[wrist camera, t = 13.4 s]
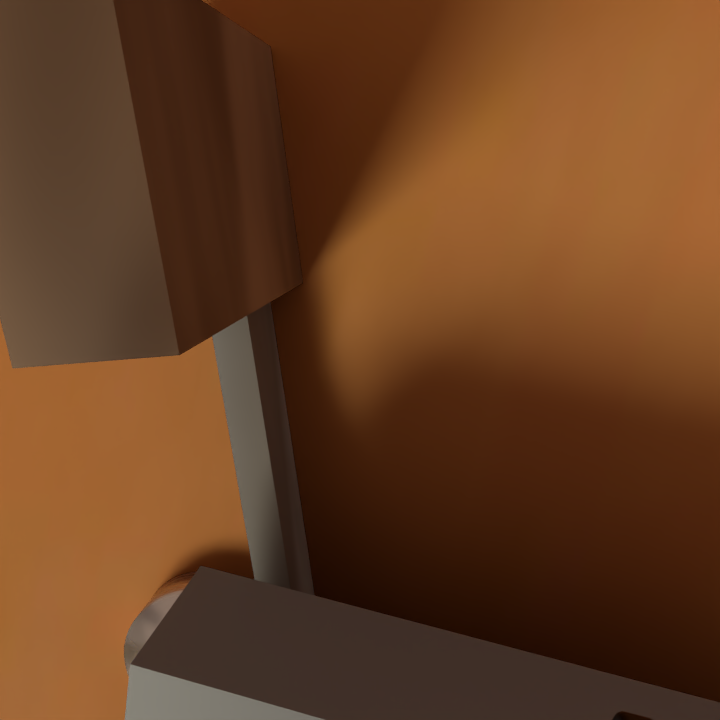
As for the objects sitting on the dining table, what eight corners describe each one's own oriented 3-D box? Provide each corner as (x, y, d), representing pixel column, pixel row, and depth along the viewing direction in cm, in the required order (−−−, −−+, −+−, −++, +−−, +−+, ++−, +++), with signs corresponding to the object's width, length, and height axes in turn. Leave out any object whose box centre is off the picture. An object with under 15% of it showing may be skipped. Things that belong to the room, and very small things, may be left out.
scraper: (264, 659, 22) (149, 919, 14) (160, 65, 17) (-86, -28, 10) (355, 660, 21) (287, 931, 13) (270, 46, 17) (100, -68, 9)
